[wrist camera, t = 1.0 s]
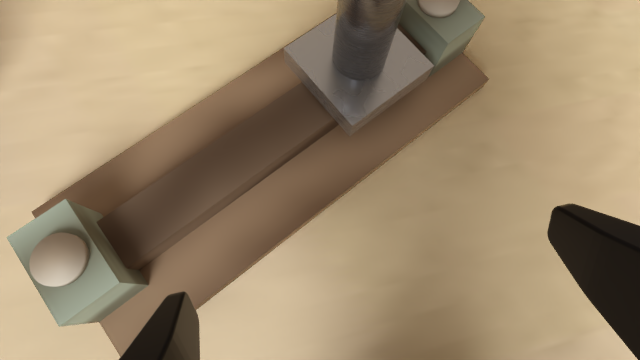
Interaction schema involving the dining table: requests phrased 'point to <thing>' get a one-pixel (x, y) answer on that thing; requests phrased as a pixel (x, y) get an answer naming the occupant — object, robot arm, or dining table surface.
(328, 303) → the dining table surface
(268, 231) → the board
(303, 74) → the carriage
